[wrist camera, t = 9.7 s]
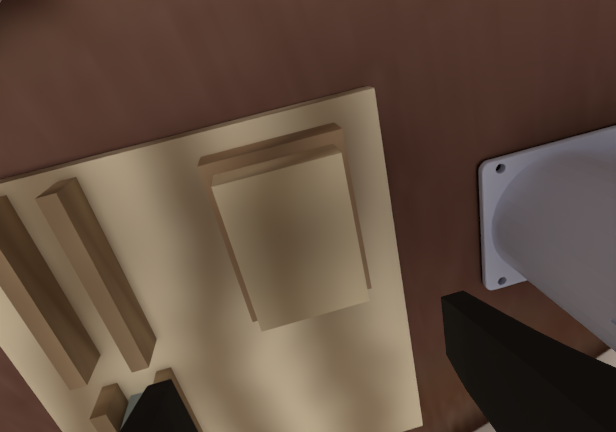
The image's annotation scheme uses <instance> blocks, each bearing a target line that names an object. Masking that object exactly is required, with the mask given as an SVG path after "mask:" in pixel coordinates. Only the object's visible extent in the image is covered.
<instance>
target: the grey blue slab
mask: <svg viewBox="0 0 616 432" xmlns="http://www.w3.org/2000/svg"><path fill="white" fill-rule="evenodd" d="M142 393H143V392H142ZM142 393H138V394H135V395H131V397H130V400H129V403H128V406H127V410H126V413H125V416H124V419H123V423H122V426H123V425H124V423H125V421H126V420H127V418H128V416H129V415H130V413H131V411H132V410H133V408H134V406H135V405H136V403H137V401H138V400H139V398H140V397H141V395H142ZM122 426H121V428H122ZM120 430H121V429H120Z"/></svg>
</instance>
